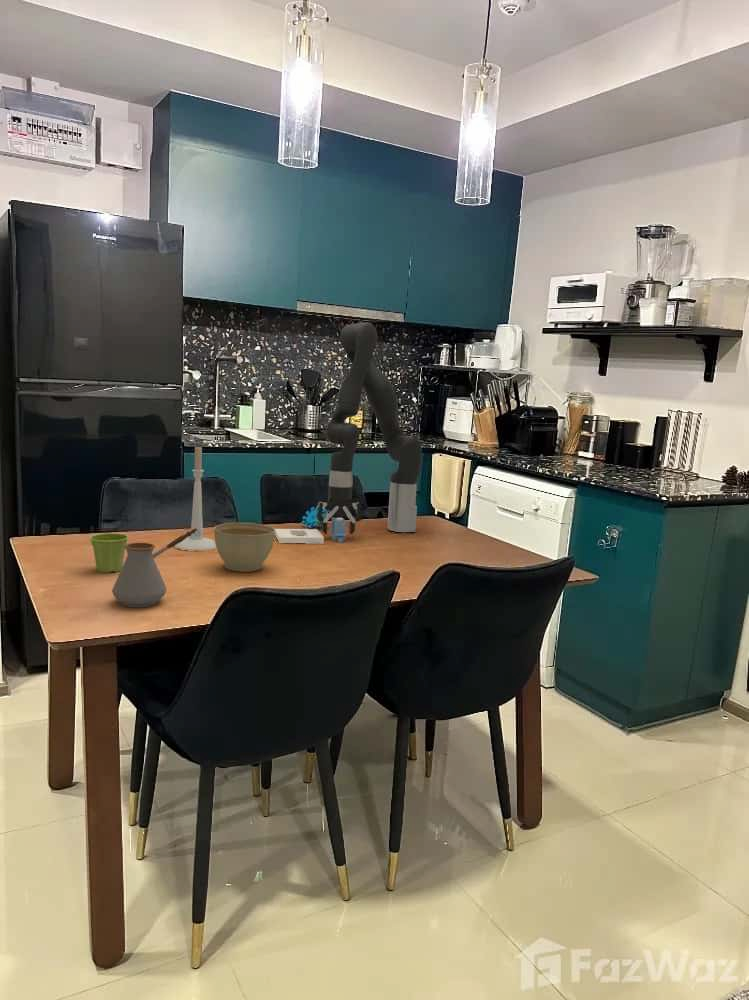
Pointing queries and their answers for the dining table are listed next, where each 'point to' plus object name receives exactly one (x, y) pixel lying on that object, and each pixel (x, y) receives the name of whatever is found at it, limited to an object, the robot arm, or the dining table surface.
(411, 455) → the robot arm
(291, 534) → the chassis board
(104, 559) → the plant pot
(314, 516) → the blue coral
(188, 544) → the candlestick
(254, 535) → the planter bowl
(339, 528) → the servo
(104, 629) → the dining table surface
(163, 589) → the coffee pot
